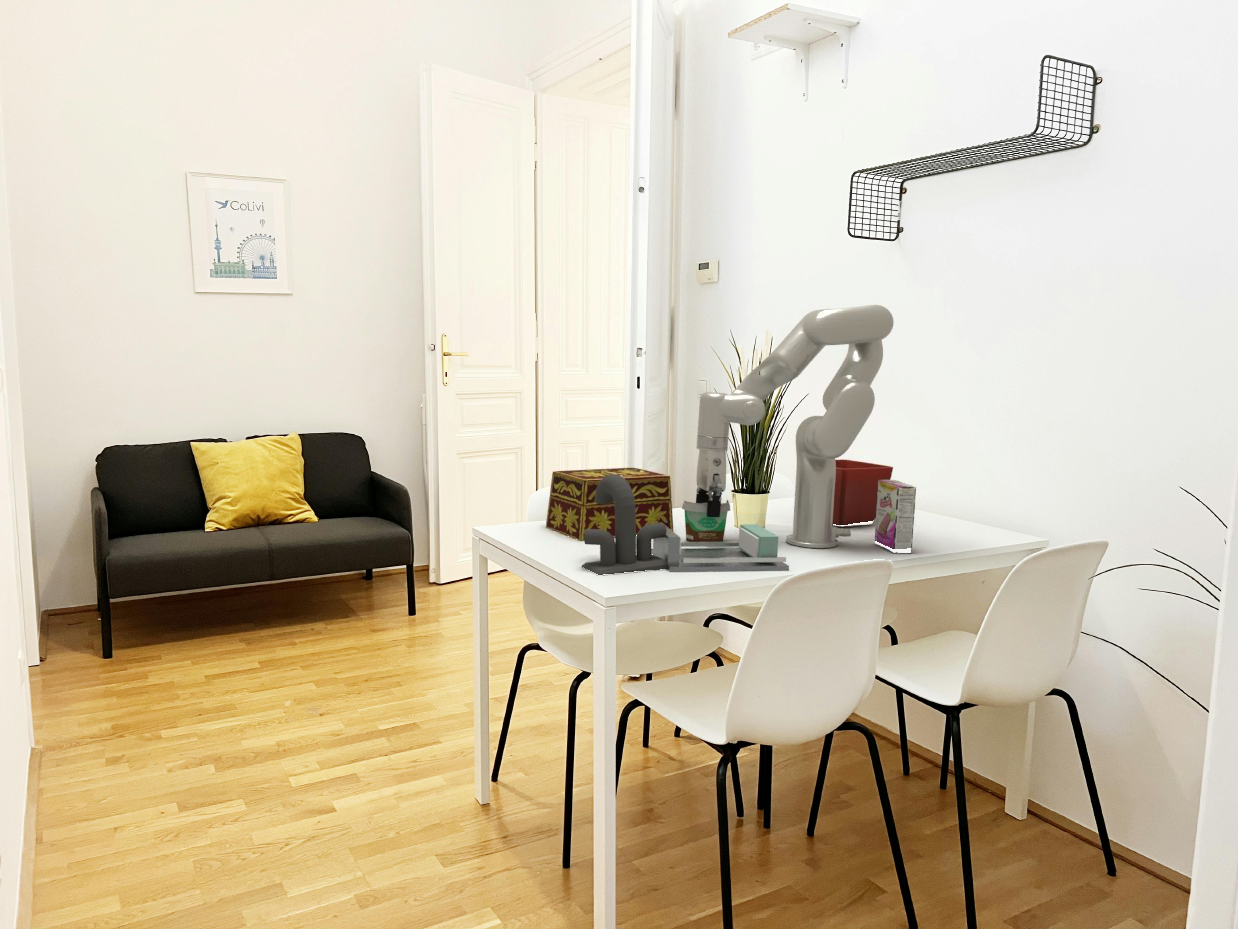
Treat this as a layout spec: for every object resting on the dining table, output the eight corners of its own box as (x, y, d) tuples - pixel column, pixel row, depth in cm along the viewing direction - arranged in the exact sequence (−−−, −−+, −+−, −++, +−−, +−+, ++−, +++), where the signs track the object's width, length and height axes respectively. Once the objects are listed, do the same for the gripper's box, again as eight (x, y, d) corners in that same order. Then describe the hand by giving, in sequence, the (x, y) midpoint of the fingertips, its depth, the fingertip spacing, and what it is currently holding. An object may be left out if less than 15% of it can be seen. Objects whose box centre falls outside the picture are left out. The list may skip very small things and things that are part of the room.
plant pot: (841, 515, 271) (845, 458, 269) (890, 526, 255) (895, 466, 253) (792, 519, 262) (795, 460, 259) (840, 531, 245) (844, 469, 243)
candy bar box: (872, 544, 230) (877, 479, 228) (891, 544, 231) (896, 479, 229) (893, 554, 219) (897, 486, 217) (912, 554, 220) (917, 486, 218)
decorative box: (634, 520, 252) (636, 466, 250) (674, 533, 236) (676, 475, 234) (545, 528, 237) (546, 470, 235) (580, 542, 222) (582, 480, 220)
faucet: (636, 552, 211) (635, 466, 208) (672, 568, 197) (672, 476, 194) (564, 563, 202) (562, 473, 199) (597, 580, 188) (595, 483, 185)
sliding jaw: (755, 548, 214) (756, 524, 213) (776, 562, 200) (778, 536, 200) (737, 548, 213) (738, 524, 212) (757, 562, 199) (758, 536, 199)
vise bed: (760, 552, 216) (762, 522, 215) (788, 570, 199) (790, 538, 198) (650, 553, 211) (651, 523, 210) (669, 571, 194) (671, 539, 193)
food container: (688, 545, 221) (690, 504, 219) (680, 540, 227) (682, 500, 225) (736, 544, 224) (738, 504, 223) (727, 539, 230) (729, 499, 229)
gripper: (738, 448, 215) (733, 520, 217) (716, 440, 231) (711, 507, 233) (707, 447, 213) (702, 519, 215) (688, 439, 230) (683, 506, 232)
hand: (707, 513), depth 224 cm, fingers open, 9 cm apart
